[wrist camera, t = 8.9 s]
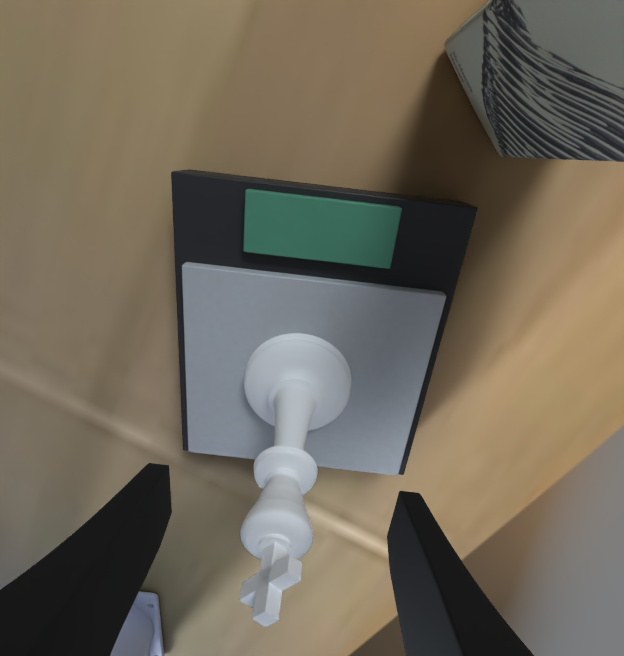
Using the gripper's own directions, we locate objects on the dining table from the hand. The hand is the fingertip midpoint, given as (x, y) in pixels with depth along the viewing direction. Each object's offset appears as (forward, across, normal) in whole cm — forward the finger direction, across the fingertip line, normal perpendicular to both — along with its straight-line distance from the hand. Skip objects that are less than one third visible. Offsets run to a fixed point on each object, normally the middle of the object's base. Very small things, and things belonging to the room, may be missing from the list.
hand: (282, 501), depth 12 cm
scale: (+9, 0, -2) cm, 9 cm away
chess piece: (+7, 0, 0) cm, 7 cm away
